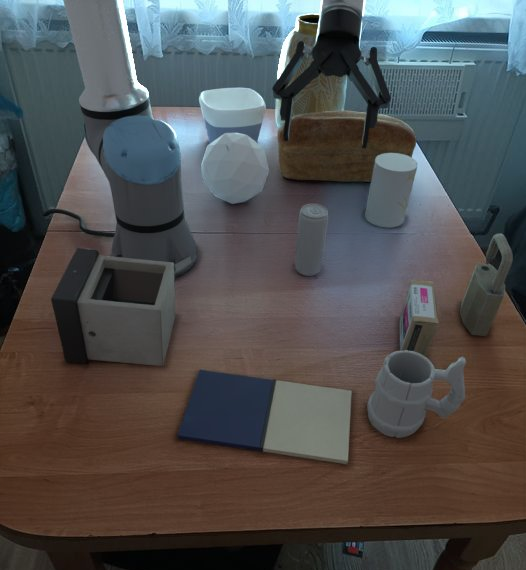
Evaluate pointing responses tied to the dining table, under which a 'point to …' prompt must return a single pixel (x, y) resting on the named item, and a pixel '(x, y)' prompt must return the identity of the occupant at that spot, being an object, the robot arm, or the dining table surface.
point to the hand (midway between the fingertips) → (324, 141)
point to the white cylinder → (390, 189)
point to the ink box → (419, 317)
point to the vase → (321, 90)
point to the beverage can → (311, 239)
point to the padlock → (486, 289)
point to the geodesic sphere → (234, 167)
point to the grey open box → (115, 309)
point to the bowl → (232, 112)
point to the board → (269, 416)
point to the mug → (412, 393)
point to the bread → (339, 145)
